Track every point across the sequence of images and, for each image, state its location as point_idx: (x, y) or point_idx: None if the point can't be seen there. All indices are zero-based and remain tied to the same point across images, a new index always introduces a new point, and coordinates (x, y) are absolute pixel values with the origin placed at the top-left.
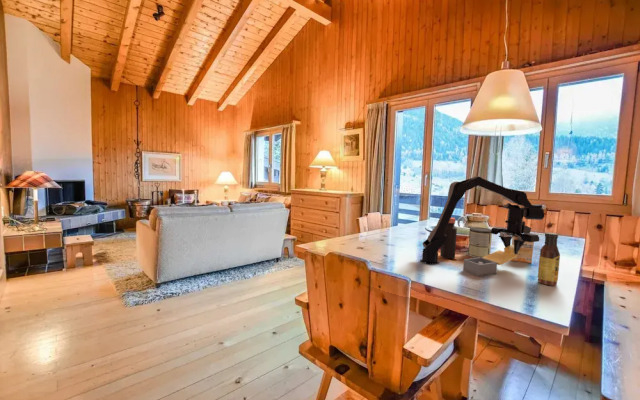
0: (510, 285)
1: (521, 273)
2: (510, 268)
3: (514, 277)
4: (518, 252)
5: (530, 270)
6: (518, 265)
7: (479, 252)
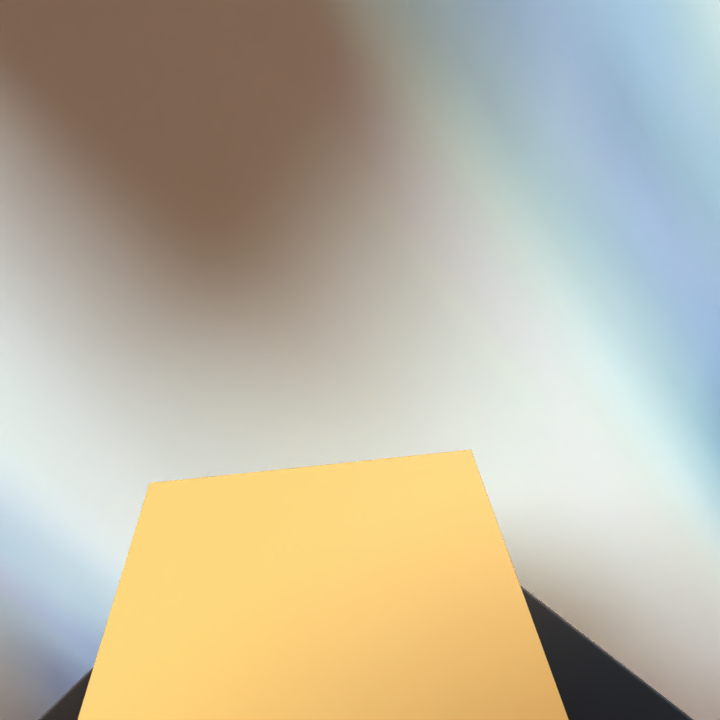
0: None
1: (614, 475)
2: (352, 432)
3: (687, 712)
4: (472, 483)
5: (561, 129)
6: (215, 54)
7: None
